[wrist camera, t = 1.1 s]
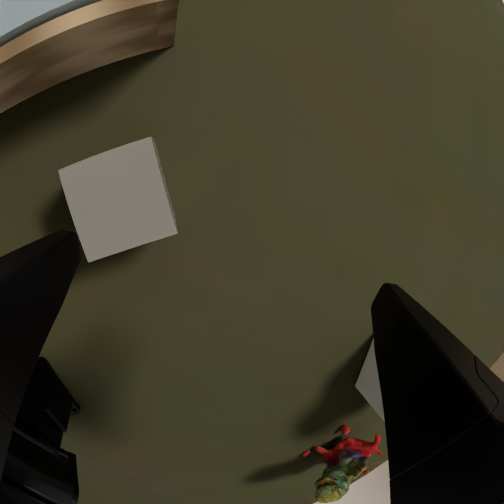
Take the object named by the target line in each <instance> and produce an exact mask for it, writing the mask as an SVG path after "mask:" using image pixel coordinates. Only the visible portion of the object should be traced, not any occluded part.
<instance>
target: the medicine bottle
mask: <svg viewBox="0 0 504 504" xmlns="http://www.w3.org/2000/svg"><path fill="white" fill-rule="evenodd" d="M355 387H356V388H357V389H358V391H359V392H360V393H361V394H362V395H363V397H364V398H365V399H366V400H367V401H368V403H369V404H370V405H371V406H372V407H373V409H374V410H375V411H376V412H377V413H378V415H379V416H380V417H381V418H382V419H383V421H384V422H385V420H384V412H383V404H382V397H381V390H380V383H379V377H378V370H377V364H376V358H375V350H374V338H373V340H372V343H371V345H370V348H369V351H368V354H367V356H366V359H365V361H364V364H363V367H362V369H361V372H360V374H359V377H358V379H357V381H356V384H355Z"/></svg>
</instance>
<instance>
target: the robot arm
mask: <svg viewBox="0 0 504 504" xmlns="http://www.w3.org/2000/svg"><path fill="white" fill-rule="evenodd" d="M80 258H81V254H80V247H79V241H78V235H77V232H76V231H74V230H69V229H62V230H60V231H57V232H55V233H52V234H50V235H48V236H45V237H43V238H41V239H39V240H36V241H34V242H32V243H30V244H27V245H25V246H23V247H21V248H19V249H17V250H14V251H12V252H10V253H8V254H6V255H4V256H2V257H0V504H77V502H78V497H79V486H78V476H77V465H76V455H75V454H73V453H71V452H67V451H65V450H64V449H62V448H60V446H61V441H62V436H63V432H66V430H67V426H68V421H69V416H70V415H73V414H78V413H79V412H80V407H79V405H78V404H77V403H76V401H75V400H74V399H73V397H72V396H71V394H70V393H69V392H68V390H67V389H66V387H65V386H64V385H63V383H62V382H61V380H60V379H59V378H58V376H57V375H56V373H55V372H54V370H53V369H52V367H51V366H50V364H49V362H48V361H47V360H46V359H45V358H43V357H39V355H40V352H41V350H42V348H43V345H44V343H45V341H46V338H47V336H48V334H49V332H50V330H51V327H52V325H53V323H54V321H55V319H56V317H57V315H58V313H59V311H60V308H61V306H62V304H63V302H64V299H65V297H66V294H67V292H68V289H69V287H70V284H71V282H72V279H73V277H74V274H75V272H76V269H77V267H78V265H79V262H80ZM371 315H372V326H373V338H374V350H375V358H376V364H377V370H378V377H379V383H380V390H381V397H382V404H383V412H384V420H385V429H386V438H387V449H388V461H389V474H390V479H391V480H390V498H391V504H504V382H503V381H502V380H501V379H500V378H498V377H497V376H496V375H495V374H494V373H493V372H492V371H491V370H490V369H489V368H488V367H487V366H486V365H485V364H484V363H483V362H482V361H481V360H480V359H479V358H478V357H477V356H476V355H474V354H473V353H472V352H471V351H470V350H469V349H468V348H467V347H466V346H465V345H464V344H463V343H462V342H461V341H460V340H459V339H458V338H457V337H455V336H454V335H453V334H452V333H451V332H450V331H449V330H448V329H447V328H446V327H445V326H443V325H442V324H441V323H440V322H439V321H438V320H437V319H436V318H435V317H434V316H432V315H431V314H430V313H429V312H428V311H427V310H426V309H425V308H423V307H422V306H421V305H420V304H419V303H418V302H417V301H415V300H414V299H413V298H412V297H411V296H410V295H408V294H407V293H406V292H405V291H404V290H403V289H401V288H400V287H399V286H398V285H396V284H391V283H384V284H383V285H382V286H381V288H380V290H379V292H378V293H377V295H376V297H375V299H374V301H373V303H372V306H371ZM38 357H39V358H38ZM41 362H42V363H44V364H42V363H41ZM74 408H75V409H74Z"/></svg>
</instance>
